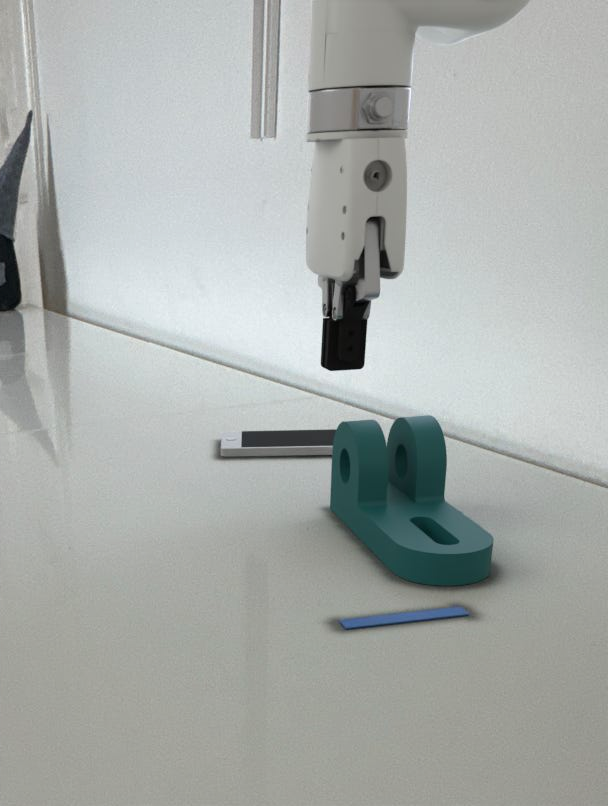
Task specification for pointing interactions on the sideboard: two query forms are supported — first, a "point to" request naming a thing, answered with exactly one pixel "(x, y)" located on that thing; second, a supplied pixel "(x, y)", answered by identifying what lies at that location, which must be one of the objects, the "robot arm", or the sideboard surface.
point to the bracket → (405, 502)
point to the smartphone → (277, 442)
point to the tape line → (403, 617)
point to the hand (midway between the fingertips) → (342, 367)
